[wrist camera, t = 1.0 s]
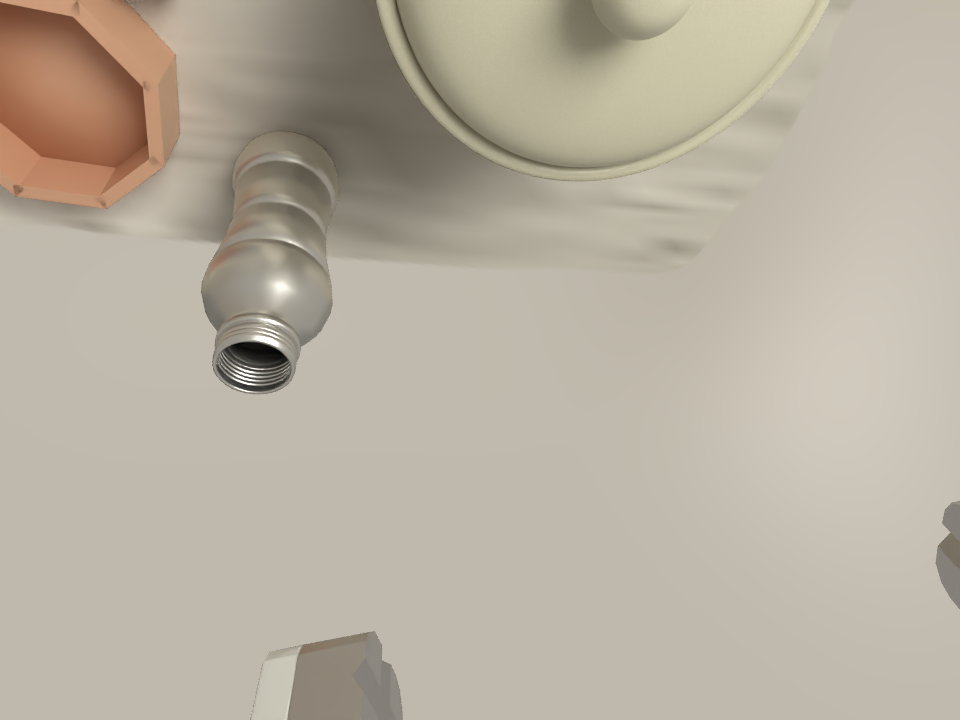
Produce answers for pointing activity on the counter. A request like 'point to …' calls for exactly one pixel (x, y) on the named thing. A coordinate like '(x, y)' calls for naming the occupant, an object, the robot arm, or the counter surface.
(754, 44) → the canister
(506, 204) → the counter surface
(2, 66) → the terracotta bowl
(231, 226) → the silver metal bottle
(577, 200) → the counter surface
